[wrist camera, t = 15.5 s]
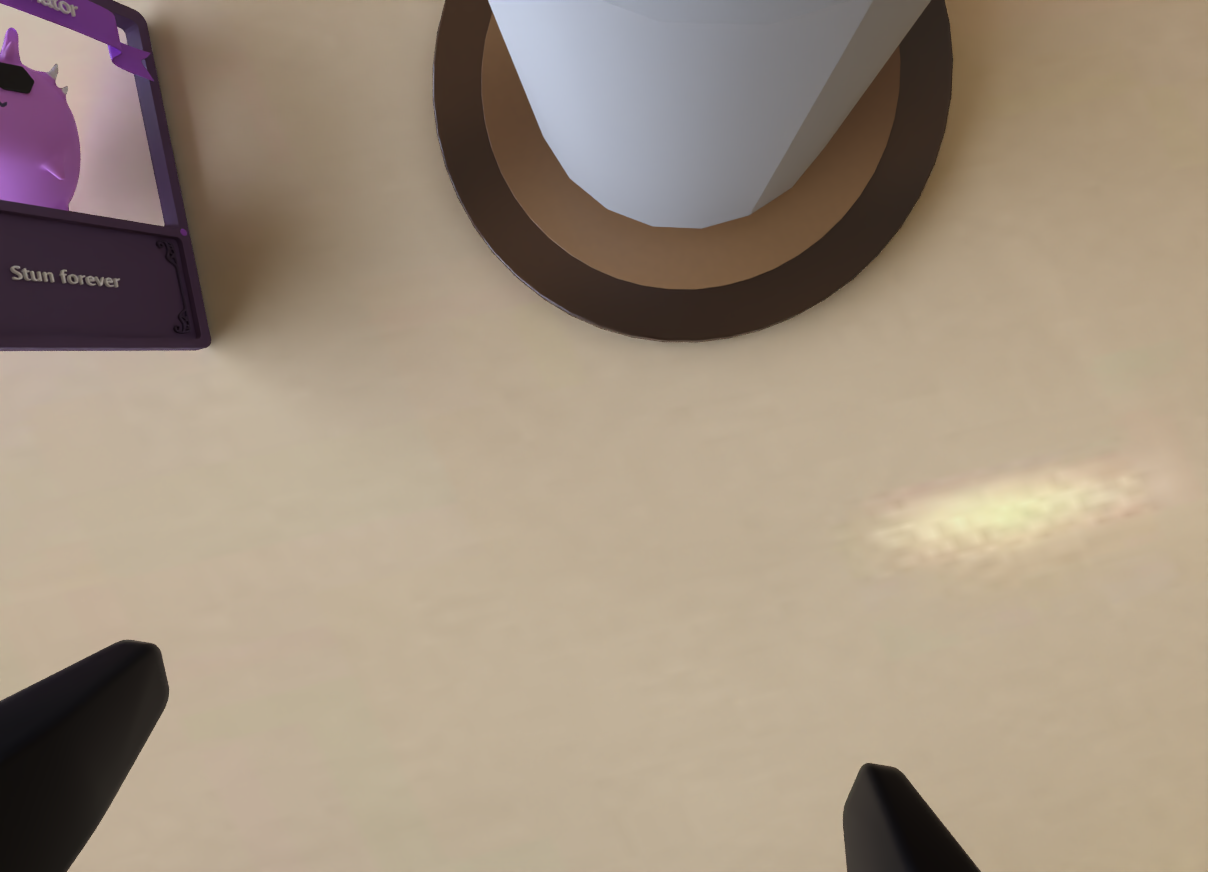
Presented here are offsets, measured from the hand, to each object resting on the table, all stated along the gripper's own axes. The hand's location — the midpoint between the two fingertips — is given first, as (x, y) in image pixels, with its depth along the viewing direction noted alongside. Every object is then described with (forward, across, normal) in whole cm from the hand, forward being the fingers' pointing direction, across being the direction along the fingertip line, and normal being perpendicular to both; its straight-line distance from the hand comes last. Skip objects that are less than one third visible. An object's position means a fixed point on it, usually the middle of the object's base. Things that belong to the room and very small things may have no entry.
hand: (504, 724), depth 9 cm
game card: (+13, +14, -2) cm, 19 cm away
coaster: (+14, -1, -7) cm, 16 cm away
